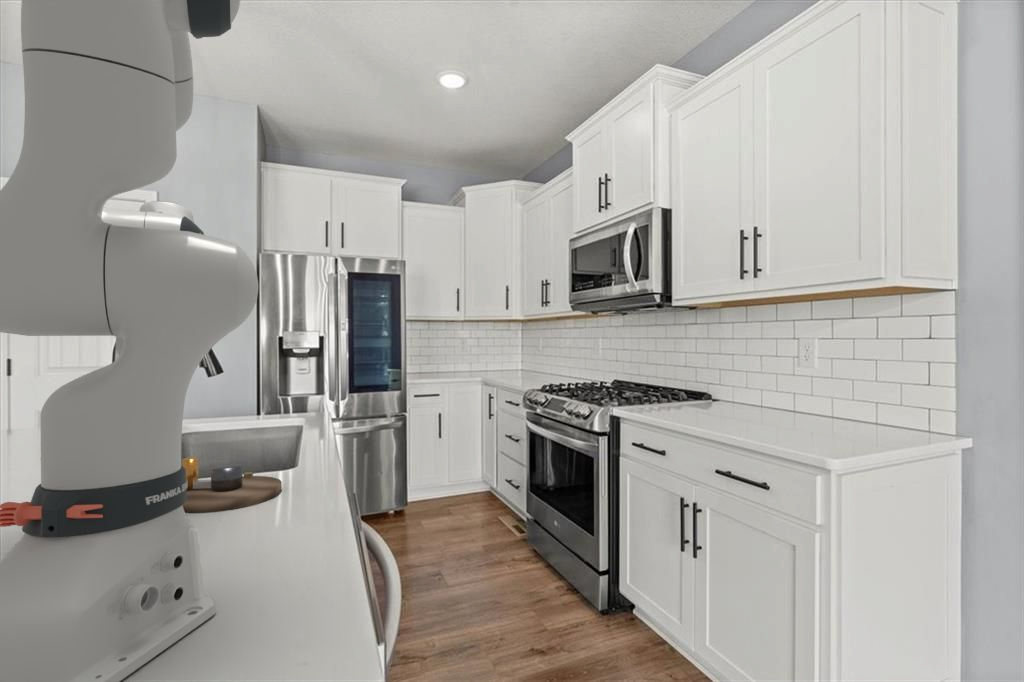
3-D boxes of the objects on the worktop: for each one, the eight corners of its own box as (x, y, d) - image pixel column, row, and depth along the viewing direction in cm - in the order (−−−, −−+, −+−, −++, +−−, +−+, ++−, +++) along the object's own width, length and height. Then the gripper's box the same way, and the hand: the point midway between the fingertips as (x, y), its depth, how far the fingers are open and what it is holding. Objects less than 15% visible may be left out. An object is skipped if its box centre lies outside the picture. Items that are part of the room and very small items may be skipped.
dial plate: (254, 511, 85) (254, 497, 85) (142, 514, 85) (142, 499, 85) (296, 482, 103) (296, 470, 103) (204, 484, 103) (204, 473, 103)
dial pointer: (247, 482, 97) (247, 454, 97) (234, 490, 92) (233, 460, 92) (191, 484, 96) (191, 455, 96) (175, 491, 91) (174, 461, 91)
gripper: (145, 295, 78) (146, 387, 78) (218, 305, 98) (219, 378, 98) (102, 295, 78) (103, 388, 78) (184, 306, 98) (184, 379, 98)
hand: (168, 383), depth 88 cm, fingers closed
